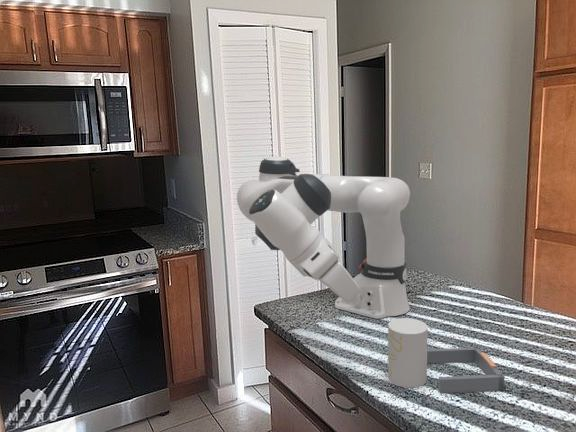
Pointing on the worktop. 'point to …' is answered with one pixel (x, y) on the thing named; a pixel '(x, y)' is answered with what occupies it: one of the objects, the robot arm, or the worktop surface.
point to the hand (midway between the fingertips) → (356, 301)
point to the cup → (407, 352)
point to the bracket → (467, 383)
